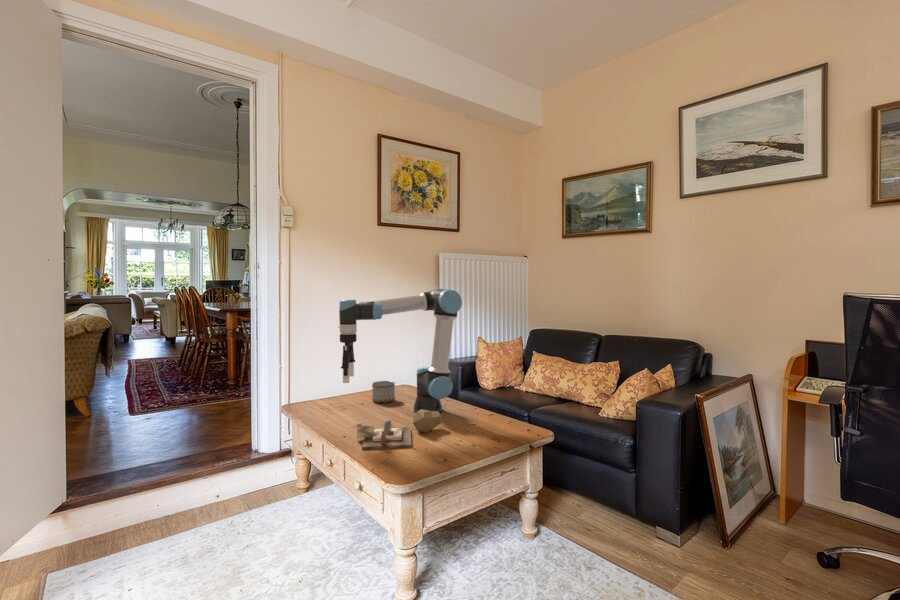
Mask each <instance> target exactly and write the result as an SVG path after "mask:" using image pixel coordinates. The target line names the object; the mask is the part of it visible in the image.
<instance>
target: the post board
mask: <svg viewBox="0 0 900 600" xmlns="http://www.w3.org/2000/svg"><path fill="white" fill-rule="evenodd" d="M383 424H384V425H383V427H382V428H379V427H378V428H377V427H376V429H384V434H381V441H373V437H368V438H363V440H362V446H361V450H363V451H364V450H365V451H366V450H367V451H369V450H385V449H386V450H389V449H410V448H412V435H411V433H412V432H411V426H409V427H407V426H406V427H403V426H402V427H401V428H402V440H392V441H386V435H393V434H391V428H392V419H385V420H384V421H383Z"/></svg>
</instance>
